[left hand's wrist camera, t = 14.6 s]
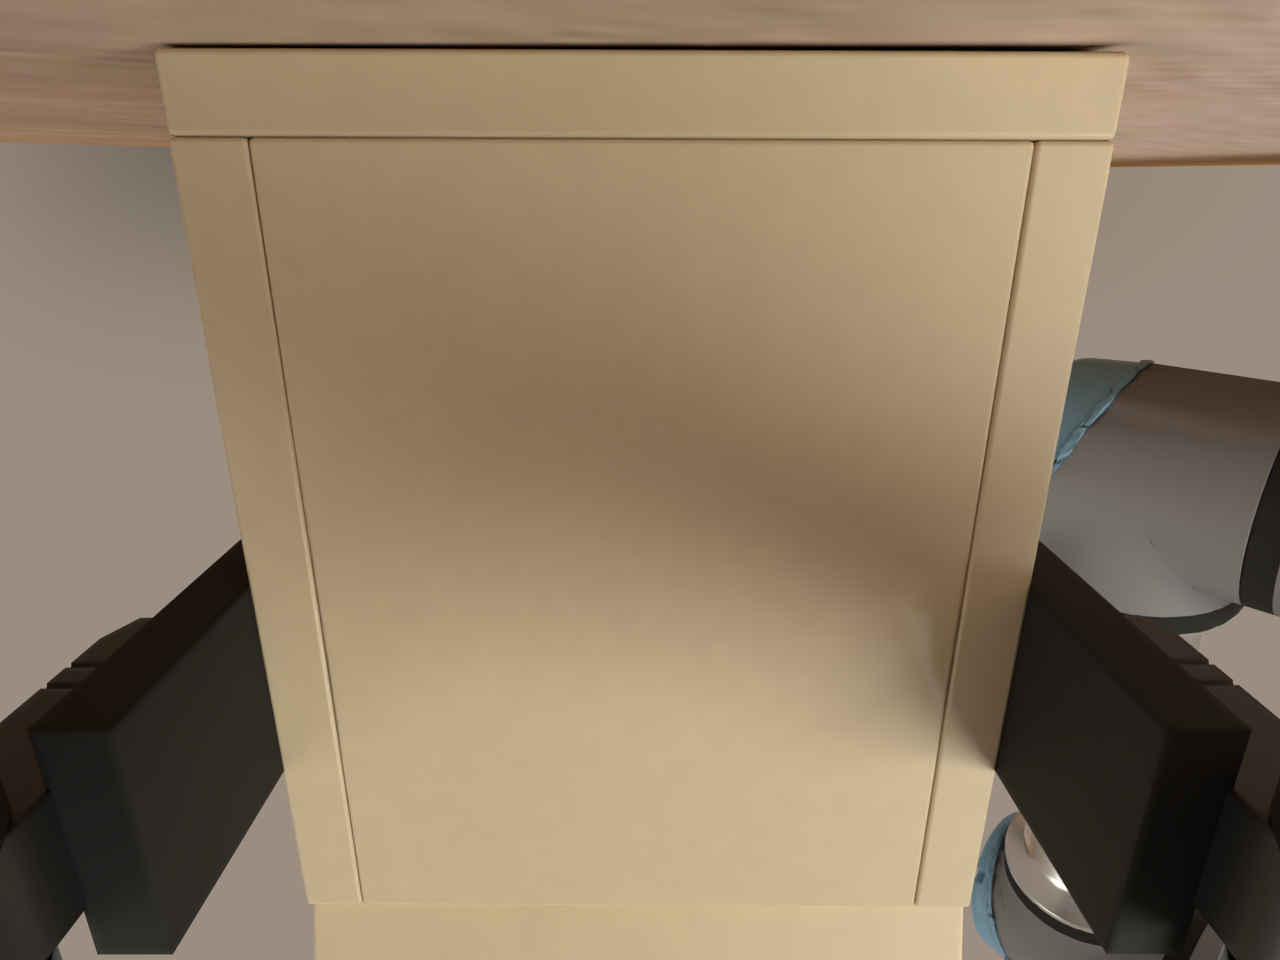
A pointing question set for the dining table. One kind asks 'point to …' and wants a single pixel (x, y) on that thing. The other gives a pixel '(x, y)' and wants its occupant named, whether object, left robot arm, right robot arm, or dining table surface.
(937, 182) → the chest
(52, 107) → the dining table surface
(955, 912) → the lid
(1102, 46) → the dining table surface
